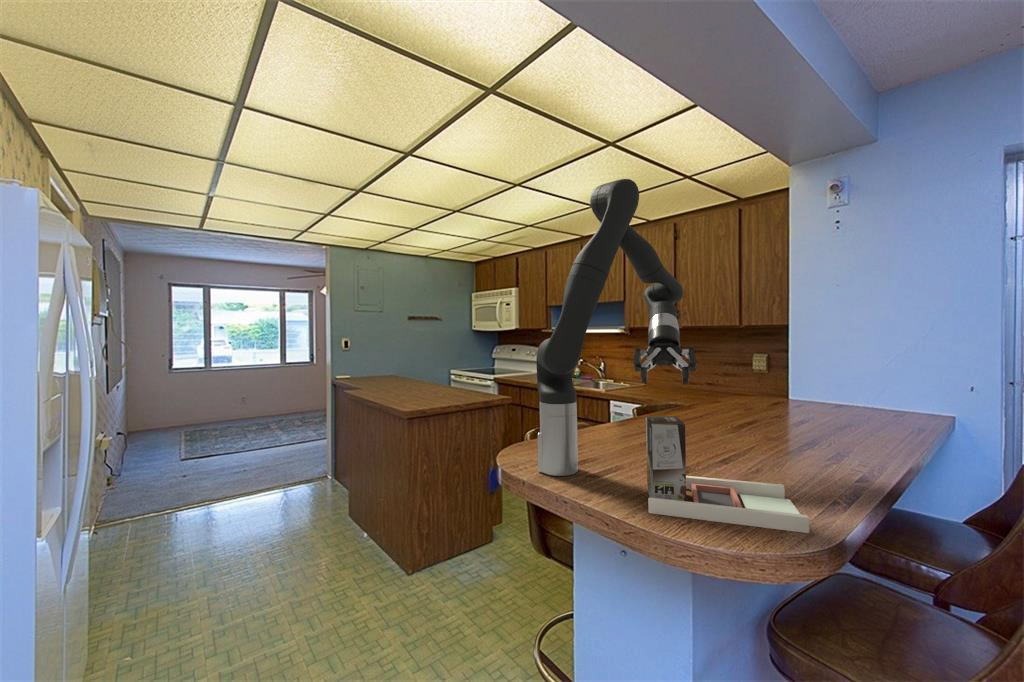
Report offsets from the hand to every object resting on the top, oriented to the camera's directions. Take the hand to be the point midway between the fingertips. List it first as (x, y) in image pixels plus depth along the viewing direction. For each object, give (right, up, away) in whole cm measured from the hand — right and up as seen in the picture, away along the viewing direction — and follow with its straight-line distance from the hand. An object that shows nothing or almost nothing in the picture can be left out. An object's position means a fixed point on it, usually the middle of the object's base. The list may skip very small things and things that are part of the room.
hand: (664, 382), depth 96 cm
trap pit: (+4, -22, -17) cm, 28 cm away
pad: (+12, -22, -20) cm, 32 cm away
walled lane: (+4, -22, -17) cm, 28 cm away
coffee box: (-5, -22, -13) cm, 26 cm away
